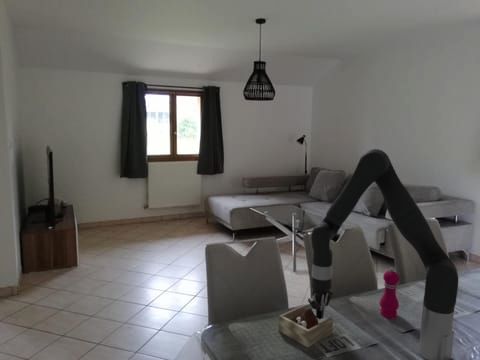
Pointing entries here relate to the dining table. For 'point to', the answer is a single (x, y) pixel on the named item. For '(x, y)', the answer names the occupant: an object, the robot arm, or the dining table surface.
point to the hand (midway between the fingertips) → (319, 318)
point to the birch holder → (303, 328)
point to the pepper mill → (389, 295)
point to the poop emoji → (307, 319)
